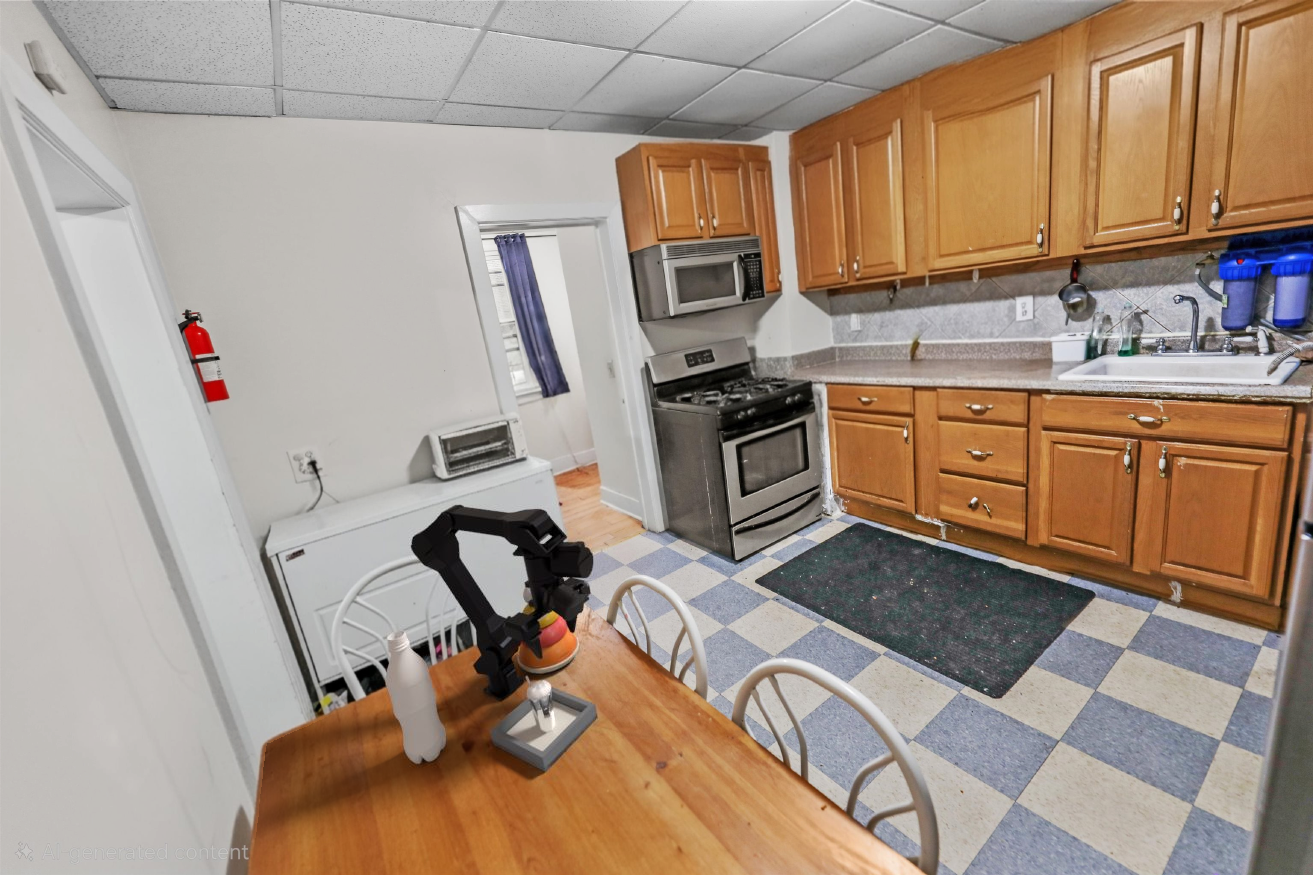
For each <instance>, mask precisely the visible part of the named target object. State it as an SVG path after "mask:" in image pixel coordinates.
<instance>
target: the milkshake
mask: <svg viewBox="0 0 1313 875" xmlns="http://www.w3.org/2000/svg"><path fill="white" fill-rule="evenodd" d="M525 679H526V681H527V684H528V688H527V690H526V697H527V698H528V700H529V703H530V706H531V709H532V712H533V715H534V718H535V721H536V725H537V728H538V731H539V732H541V733H548V732H549V731H551V730H553V728H554V727H555V720H554V712H553V704H552V691H551V687H552V685H551V683H550V682H548V681H547V680H546V679H544V680H537V681H536V682H533V683H532V682H531V681H530V679H529V676H528V675H526V676H525ZM527 698H526V699H527Z"/></svg>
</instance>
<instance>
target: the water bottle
mask: <svg viewBox="0 0 1313 875" xmlns="http://www.w3.org/2000/svg"><path fill="white" fill-rule="evenodd" d="M386 639H387V640H386V641H387V644H388V645H387V646H388V653H390V659H389V663H388V666H387V670H386V674H385V687H386V689H387V690H388V694H389V698H390V701H391V705H392V711H393V714H394V717H395V719H397V720H398V722H399V724H400V726H401V727H400V728H401V730H402V735H403V742H402V743H403V744H402V745H403V749H404V752H405V755H406V756H407V757H408V759H409V760H410V761H411V762H413V763H414V764H417V765H419V764H422V762H423V760H425V762H432V761H434V760H436V759H437V758H438V756H439V755H440V754H441V750H444V748H445V746H446V744H447V743H446V742H447V732H446V729H445V726H444V724H443V723H442V721H441V720H440V718H439V714H438V709H437V695H436V691H435V689H434V687H433V683H432V678H431V675H430V671H429V666H428V664H427V662H426V660H424V658H422V657H421V656H420V655H419V654H418V653H416V652H415V651H414V650H413V649H412V647H411V646H410V645H411V641H410V640H409V639H408V637H407V633H406V631H405V630H402V629H401V630H395V631H393V632H391V633H390V634H389V635H387V638H386Z"/></svg>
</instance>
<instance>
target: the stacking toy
mask: <svg viewBox="0 0 1313 875" xmlns="http://www.w3.org/2000/svg"><path fill="white" fill-rule="evenodd" d="M522 596H523V599H524V600H523V601H525V603H527V604H526V605H525V607H524V608H523V610H522V612H521V613H524V614H527V615H529V614H530V613H532V612H533V611H534V610H535V609H534V607H531V606H529V602H528V601H530V600H531V599H532V596H531V591H530V588H527V587H525V586H524V589H523V592H522ZM539 623H540V629H539V631H542V634H541V635H540V636H539V639H540V644H541V648H542V656H543V658H542V659H539V658H537V657H536V655H535V654H534V653H533V652H532V651H531V649H530V648H529V647H528V646H527V645H526V643H525V642H523V641H521V645H520V646H519V649H518V651H519V652H517V657H516V658H517V663H518V665H519V667H520V668H521V669H522V670H524V671H526V672H528V673H532V674H540V675H541V674H545V673H551V672H553V671H556V670H559V669H560V668H563V667H564V666H566V665H568V664H569V663H570V662H572V661H573V659H574V658H575V657H576V656H577V653H578V651H579V648H580V639H579V638H578V636H576V635H575V634H574V633H571V632H570V631H569V629H568V627H567V624H566V621H565V620H564V619H563V618H562V617H561V616H559V615H558V614H556V613H555V612H554V611H552V612H551V613H549V614H548V615H546V616H545V617H544V618H542V619H541V620H540V621H539Z"/></svg>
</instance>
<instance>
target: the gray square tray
mask: <svg viewBox="0 0 1313 875" xmlns="http://www.w3.org/2000/svg"><path fill="white" fill-rule="evenodd" d="M551 691H552V704H553V712H554V720H555V727H554V728H553V730H551V731H549V732H548V733H541V732H539V731H538V728H537V725H536V721H535V718H534V715H533V712H532V709H531V706H530V703H529V700H528V698H526V699H524V701H522V702H521V703H520V704H519V705H518V706H516V707H515V708H514V709H513V710H512V711H510V713H508V714H507V715H506V716H505V717H503V719H501V720H500V721H499V722H498V723H497V724H496V725H494V727H492V728H491V729H490V730H489V732H490V737H491V738H490V739H491V741H492V744H493V746H496V747H497V748H499V749H501V750H503V751H505V752H506V753H509V754H511V755H513V757H514V756H515V757H516V758H518V759H520V760H521V761H524V762H526V763H527V764H530V765H531V766H533V767H535V768H537V769H539V770H540V771H543V772H545V773H546V772H547V771H548V770H549V769H550V768H552V766H554V764H555V763H556V762H557V761H558V760H559V759H560V758H561V757H562V756H563V755H564V754H565V753H566V751H567V750H568V749H569V748H570V747H571V746H572V745H573V744H574V743H575V742H576V741H577V740H578V739H579V738H580V737H581V736H582V735H583V734H584V733H585V732H586V731H587V730H588V728H589V727H591V725H593V723H594V722H595V721H596V720H597V719H598V718H599V716H598V711H597V707H596V704H595V703H593V702H592V701H589V700H586V699H583V698H580V697H579V696H576V695H573V694H571V693H568V692H566V691H563V690H561V689H558V688H555V687H553V686H551Z"/></svg>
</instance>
